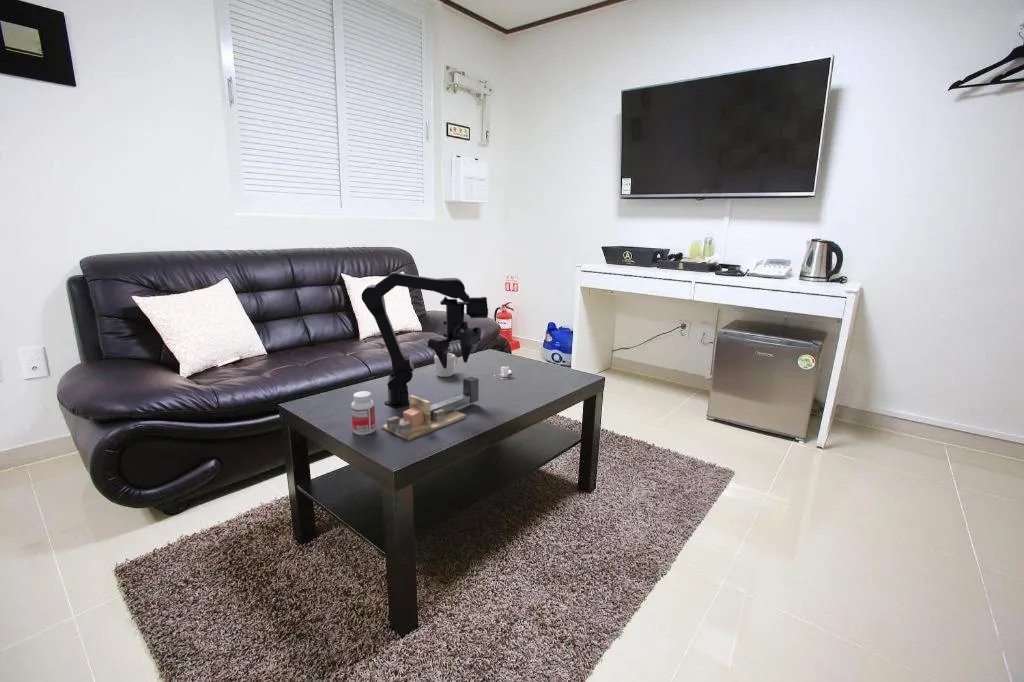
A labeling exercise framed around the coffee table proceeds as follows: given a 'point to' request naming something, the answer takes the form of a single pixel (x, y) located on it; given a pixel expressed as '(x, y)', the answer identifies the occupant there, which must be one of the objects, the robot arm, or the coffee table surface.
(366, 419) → the pill bottle
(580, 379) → the coffee table surface
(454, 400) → the grey metal bar
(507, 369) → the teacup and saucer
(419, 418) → the block
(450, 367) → the cup
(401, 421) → the rail
